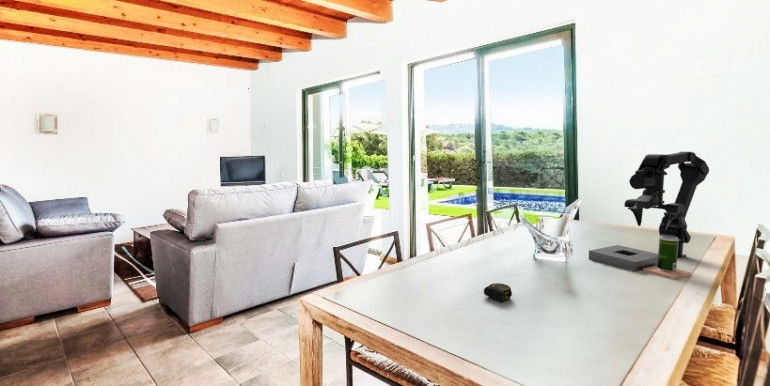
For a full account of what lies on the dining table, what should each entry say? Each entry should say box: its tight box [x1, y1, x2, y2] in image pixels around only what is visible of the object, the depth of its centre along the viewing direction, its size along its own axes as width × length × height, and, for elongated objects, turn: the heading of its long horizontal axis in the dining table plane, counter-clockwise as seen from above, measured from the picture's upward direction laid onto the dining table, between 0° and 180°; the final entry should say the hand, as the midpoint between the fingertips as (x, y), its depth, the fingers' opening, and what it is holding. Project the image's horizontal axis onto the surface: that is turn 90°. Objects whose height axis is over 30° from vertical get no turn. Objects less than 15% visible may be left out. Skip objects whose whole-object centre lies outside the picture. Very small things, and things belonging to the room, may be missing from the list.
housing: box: [588, 244, 658, 273], centre depth 150 cm, size 18×18×4 cm
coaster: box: [642, 265, 692, 281], centre depth 136 cm, size 10×10×1 cm
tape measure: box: [483, 282, 513, 303], centre depth 115 cm, size 7×7×4 cm
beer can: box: [657, 235, 679, 272], centre depth 136 cm, size 5×5×12 cm
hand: (651, 227), depth 150 cm, fingers open, 9 cm apart
